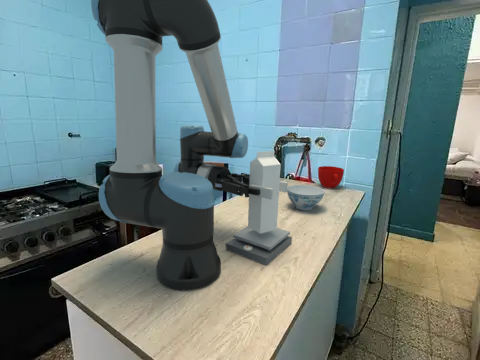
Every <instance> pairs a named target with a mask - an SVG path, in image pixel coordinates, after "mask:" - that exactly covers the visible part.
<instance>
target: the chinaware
mask: <svg viewBox="0 0 480 360" xmlns="http://www.w3.org/2000/svg"><path fill="white" fill-rule="evenodd" d="M286 193H287V197H288V199H289V200H290V202H291V203H292V204H293V205H295V208H296V209H299V210H301V211H311V210H313V208H314V207H316V206H317V205H318V204H319V203H320V202H321V201H322V200H323V198H324V197H325V193H326V192H325V189H323V188H321V187H318V186H314V185H307V184H293V185H288V187H287V192H286Z"/></svg>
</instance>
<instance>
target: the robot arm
mask: <svg viewBox="0 0 480 360" xmlns="http://www.w3.org/2000/svg"><path fill="white" fill-rule="evenodd" d="M90 3H91V4H90V5H91V11H92V12H91V13H92V16H93V19H94V20H95V21H97V23H96V27H97V28H98V29H99V30H100V32H101V33H102V35H104V36H105V42H106V43H107V45H109V47H111V49H112V50H113V64H114V65H113V68H114V69H113V70H114V74H113V75H114V103H115V105H114V106H115V108H114V110H115V139H116V140H115V145H116V146H115V147H116V160H115V163H113V164H112V165H111V166H110V167H109V175H107V176H105V177H104V179H103V180H102V184H100V186H99V188H98V189H99V190H98V202H99V205H100V208H101V210H102V211H103V213H104V214H105V215H106V216H107V217H109V218H110V219H112V220H114V221H117V222H118V221H119V222H121V223H123V224H130V225H131V224H132V225H138V226H145V227H148V228H149V227H150V228H154V229H155V228H156V229H161V230H162V246H161V251H160V255H159V259H158V260H157V263H156V265H155V266H156V268H155V269H156V271H155V272H156V279H157V281H158V282H159V283H160V284H161V285H162V286H163V287H166V288H167V289H171V290H175V291H194V290H198V289H202V288H205V287H207V286H209V285H211V284H212V283H214V282H216V280H217V279H218V278H219V277H220V275H221V271H222V262H221V261H222V260H221V257H220V255H219V254H218V249H217V246H216V244H215V240H214V237H215V236H214V232H215V231H214V228H215V217H214V216H215V201H216V200H215V197H214V196H215V195H214V190H215V191H219V192H223V191H224V192H226V193H230V194H233V195H236V196H240V197H243V196H244V197H245V198H248V199H249V194H250V195H253V196H257V197H262V198H266V199H270V200H272V199H273V189H272V188H267V187H262V186H257V185H250V187H249V181H250V173H245V172H241V173H239V174H238V173H235V172H234V173H233V172H232V173H231V171H230V169H229V168H228V167H226V166H221V165H216V164H209V163H204V159H205V157H207V156H208V157H209V156H210V157H217V158H218V157H221V158H230V159H242V158H244V157H245V156H246V155H247V153H248V149H249V139H248V136H247V135H246V133H241V132H239V131H238V128H237V123H236V118H235V114H234V111H233V105H232V101H231V97H230V92H229V88H228V84H227V83H228V82H227V79H226V75H225V70H224V66H223V61H222V57H221V51H220V48H219V43H220V41H221V37H222V36H221V31H220V28H219V23H218V20H217V17H216V15H215V12H214V10H213V8H212V5H211V4H210V2H209V0H90ZM168 36H169V37H171V36H173V37H174V39H176V42H177V45H178V49H179V50H181V51H182V52H184V53H185V55H186V57H187V62H188V64H189V67H190V70H191V72H192V76H193V80H194V82H195V85H196V88H197V92H198V94H199V98H200V100H201V104H202V106H203V109H204V113H205V116H206V118H207V122H208V125H209V128H210V131H205V128H204V126H203V125H202V124H201V125H199V124H183V125H181V126H180V129H179V142H180V143H179V144H180V146H179V147H180V148H179V149H180V160H178V161H177V162H176V163H175V165H174V169H173V172H172V171H171V172H167V173H164V174H163V168H162V166H161V165H160V164H159V163H157V157H156V156H157V155H156V153H157V151H156V148H157V147H156V135H157V133H156V132H157V131H156V129H157V128H156V127H157V125H156V122H157V121H156V57H157V56H158V55H159V54H160V53H161V52H162V51H163V38H164V37H168ZM288 182H289V181H288ZM288 182H287V181H281V180H280V185H279V192H283V193H287V187H288V186H289V185H288Z"/></svg>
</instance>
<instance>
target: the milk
mask: <svg viewBox="0 0 480 360" xmlns="http://www.w3.org/2000/svg"><path fill="white" fill-rule="evenodd" d="M281 165H282V164H281V163H280V162H279V160H278V159H277V158H276V157H275V150H267V151H257V152H256V157H255V158H254V159H253V160H251V161H250V162H249V174H250V181H249V187H250V185H257V186H262V187H267V188H272V189H273V199H272V200H270V199H266V198H262V197H257V196H253V195H250V194H249V197H248V215H247V219H248V220H247V226H249V227H250V228H252V229H253V230H255V231H257V232H258V233H260V234H261V233H265V232H268V231H272V230H276V229H277V228H278V217H279V216H278V212H279V200H280V199H279V198H280V191H279V185H280V181H281V167H282V166H281Z"/></svg>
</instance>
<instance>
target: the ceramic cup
mask: <svg viewBox="0 0 480 360" xmlns="http://www.w3.org/2000/svg"><path fill="white" fill-rule="evenodd" d="M344 172H345V169H344V168H342V167H337V166H331V165H327V166H326V165H324V166H322V165H321V166H319V167H318V168H317V176H318V177H317V178H318V181H319V183H320V185H322V187H323V188H326V189H335V188H337V186H339V185H340V184H341V183H342V180H343V178H344Z"/></svg>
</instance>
